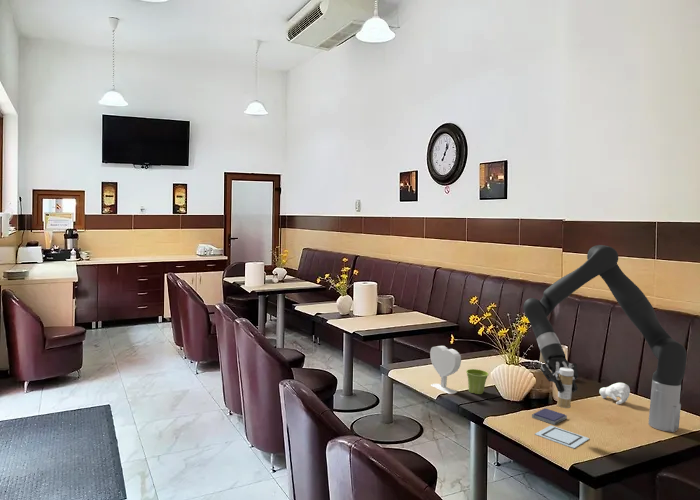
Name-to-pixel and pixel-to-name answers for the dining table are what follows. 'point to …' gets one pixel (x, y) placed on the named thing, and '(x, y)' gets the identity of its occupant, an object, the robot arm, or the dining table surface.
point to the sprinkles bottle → (565, 387)
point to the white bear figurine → (616, 392)
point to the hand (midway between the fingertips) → (568, 391)
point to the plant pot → (476, 380)
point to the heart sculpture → (445, 365)
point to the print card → (562, 436)
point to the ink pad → (549, 416)
